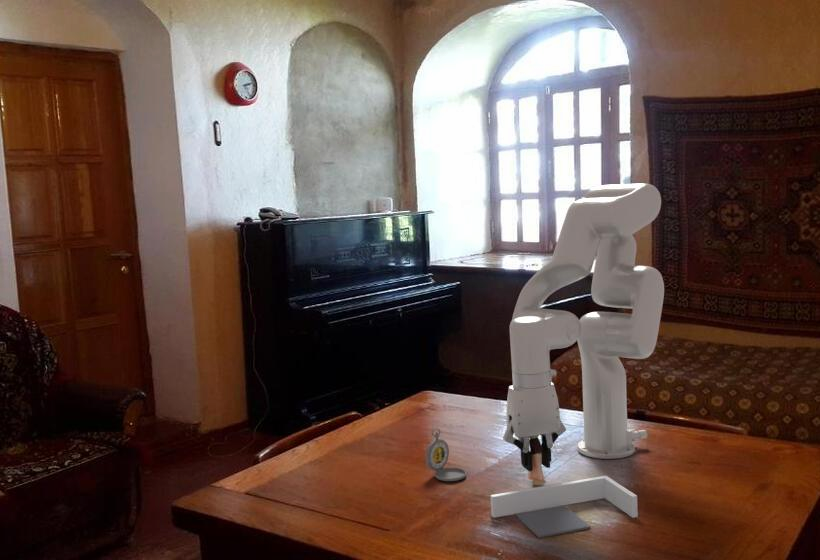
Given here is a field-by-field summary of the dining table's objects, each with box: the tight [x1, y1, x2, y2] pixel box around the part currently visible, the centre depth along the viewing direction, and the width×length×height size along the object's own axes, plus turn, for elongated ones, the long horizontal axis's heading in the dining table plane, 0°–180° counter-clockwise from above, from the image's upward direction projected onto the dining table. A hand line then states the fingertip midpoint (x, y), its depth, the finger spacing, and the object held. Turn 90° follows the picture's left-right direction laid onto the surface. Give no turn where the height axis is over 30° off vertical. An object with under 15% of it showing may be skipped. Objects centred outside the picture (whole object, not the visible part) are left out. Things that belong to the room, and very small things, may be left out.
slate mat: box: [515, 505, 592, 539], centre depth 145 cm, size 10×10×1 cm
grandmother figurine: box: [527, 435, 547, 486], centre depth 161 cm, size 8×4×13 cm, turn 7°
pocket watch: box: [425, 427, 467, 482], centre depth 171 cm, size 8×8×10 cm
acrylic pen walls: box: [490, 475, 639, 519], centre depth 147 cm, size 24×11×4 cm, turn 106°
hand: (536, 466), depth 162 cm, fingers closed on grandmother figurine, 3 cm apart
